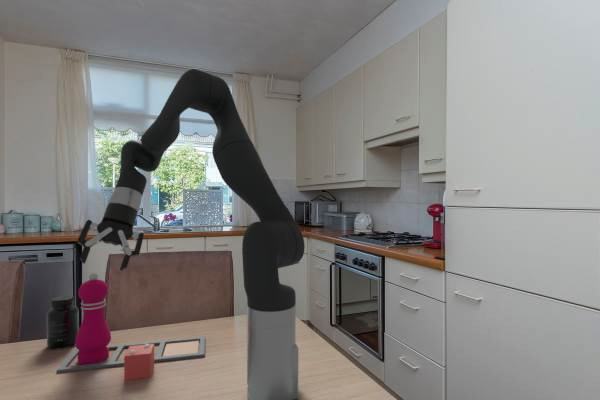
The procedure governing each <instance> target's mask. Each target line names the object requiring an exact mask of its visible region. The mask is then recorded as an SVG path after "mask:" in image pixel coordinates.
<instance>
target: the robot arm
mask: <svg viewBox="0 0 600 400" xmlns="http://www.w3.org/2000/svg"><path fill="white" fill-rule="evenodd" d="M187 109H192V110H194V111H198V112H202V113H205V114H207V115H209V116H210V117H211V118H212V120H213V122H214V124H215V126H216V129H217V131H216V135H215V137H214V141H213V144H212V157H213V161H214V163H215V165H216V168H217V170H218V172H219V175H220V177H221V178H222V180H223V182H224V183H225V184H226V186H227V187H228V188H229V189H230V190H231V191H232V192H233V193H234V194H236V195H237V196H238V198H240V199H241V200H242V201H243V202H245V203H246V204H247V205H248V206H249V207H250V208H251V209H252V210H253V211H254V214H256V216H257V217H258V219H259V221H255V222H252V223H251V224H249V225H248V226H247V227H246V229H245V231H244V234H243V237H242V246H241V248H242V249H241V250H242V251H241V255H242V274H243V287H244V291H245V295H246V298H247V299H246V300H247V305H246V306H247V308H246V309H247V317H246V320H247V321H246V322H247V323H246V324H247V325H246V326H247V328H246V329H247V330H246V331H247V333H246V334H247V335H246V336H247V337H246V341H247V342H246V343H247V347H246V350H247V351H246V352H247V353H246V356H247V357H246V360H247V361H246V364H247V365H246V372H247V373H246V375H247V377H246V379H247V381H246V389H247V391H246V392H247V399H248V400H298V399H299V347H298V345H297V343H296V337H297V335H296V325H297V324H296V322H297V321H296V314H297V313H296V311H297V310H296V308H297V307H296V303H297V302H296V301H297V300H296V298H297V297H296V296H297V295H296V291H295V289H294V287H292V286H290V285H287V284H283V283H281V282H280V278H279V275H280V274H279V269H281V268H286V267H290V266H293V265H297V264H298V263H299V262H301V260H302V259H303V257H304V254H305V240H304V239H305V238H304V236H303V233H302V231H301V230H302V229H301V228H300V226H299V225H298V223H297V222H296V220H295V218H294V217H293V215H292V213H291V212H290V210H289V209H288V207H287V206H286V205H285V203H284V201H283V199H282V198H281V196H280V195H279V193H278V192H277V189H276V187H275V186H274V184H273V181H272V180H271V178H270V175H269V174H268V172H267V170H266V168H265V166H264V164H263V161H262V159H261V157H260V155H259V153H258V151H257V149H256V147H255V145H254V144H253V141H252V139H251V138H250V135H249V134H248V132H247V130H246V127H245V125H244V123H243V120H242V119H241V117H240V114H239V112H238V109H237V106H236V103H235V100H234V98H233V94H232V92H231V89H230V87H229V85H228V83H227V82H226V81H225V80H224V79H223V78H221V76H218V75H215V74H213V73H210V72H209V71H208V72H207V71H205V70H203V69H200V68H197V67H196V68H195V67H190V68H188V69H187V70H185V71H184V72H183V73H182V74H181V75H180V77H179V78H178V80H177V82H176V83H175V84H174V87H173V89H172V91H171V92H170V94H169V96H168V98H167V99H166V101H165V103H164V105H163V107H162V109H161V111H160V112H159V115H158V116H157V118H155V120H154V122H153V123H152V124H151V125H150V126H149V127H148V128H147V129H146V131H144V132H143V134H142V135H141V137H140V141H138V140H136V139H131V140H128V141H126V142H125V143H124V144H123V146H122V147H121V151H120V152H121V153H120V171H119V175H118V180H117V182H116V184H115V187H114V190H113V192H112V194H111V195H110V197H109V199H108V200H109V201H108V203H107V207H106V208H105V211H104V215H103V216H102V220H101V221H100V222H99V223H96V222H92V220H90V219H87V220H86V221H85V224H84V226H83V228H82V229H81V232H80V234H79V236H78V239H77V244H78V245H80V246H82V247H83V249H82V251H81V254H80V257H79V258H80V259H79V260H80V261H81V264H83V265H85V264H86V262H87V259H88V257H89V254H90V251H91V248H92V247H93V246H96V245H98V244H99V243H101V242H103V243H104V244H107V245H108V244H109V245H113V246H116V247H117V246H120V247H121V249H122V250H123V253H124V256H123V258H122V261H121V265H120V267H119V272H123V271H124V270H126V269H127V268H128V264H129V263H130V258H133V257H138V256H139V254H141V248H142V245H143V241H144V236H145V234H144V233H143V232H134V231H133V230H134V229H133V228H134V225H135V222H136V219H137V216H138V213H139V211H140V207H141V204H142V198H143V194H144V192H145V189H146V185H147V183H148V181H147V178H146V176H145V175H144V174H142V172H140V171H139V170H141V171H143V172H147V173H151V172H154V171H156V170H158V168H159V166H160V163H161V160H162V157H163V155H164V153H165V152H166V151H167V150H168V148H170V147H171V146H172V145H173V144H174V142H175V141H176V140H177V139H178V137H179V135H180V129H181V125H180V124H181V121H180V119H181V118H180V117H181V115H182V113H184V112H185V111H187ZM137 169H139V170H137ZM94 229H96V230H97V232H98V234H96V235H95V236H93V238H91V239H89V240H86V238H87V237H88V234H89V232H92V231H94ZM131 238H133V241H134V242H136V243H135V246H134V250H131V248H130V245H129V242H128V240H130V239H131Z"/></svg>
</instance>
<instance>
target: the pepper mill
mask: <svg viewBox="0 0 600 400" xmlns="http://www.w3.org/2000/svg"><path fill="white" fill-rule="evenodd" d="M98 278H99V276H98V274H97V273H94V272H93V273H90V274H89V276H88V279H89V280H87V281H84V282H83V283H82V284H81V285H80V287H79V288H78V293H77V295H78V297H79V299H80V300H81V302H80V305H81V306H80V310H82V312H83V313H82V314H83V315H82V320H81V321H82V322H81V324H80V327H79V331H78V333H77V336H76V341H75V344H74V346H75V349H78V350H79V351H80V352H79V353H78V355H77V362H78V364H79V365H87V364H96V363H102V362H103V361H105V360H107V358H108V357H109V355H110V351H109V348H108V347H107V346H109V344H110V342H111V340H112V333H111V330H110V327H109V326H108V324H107V321H106V318H105V314H104V310H105V309H104V308H105V306H106V305H107V303H106V302H107V300H106V297H107V296H108V293H109V286H108V284H107V282H106V281H104V280H101V279H98Z"/></svg>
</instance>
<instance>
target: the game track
mask: <svg viewBox="0 0 600 400" xmlns="http://www.w3.org/2000/svg"><path fill="white" fill-rule="evenodd" d="M145 344H154V346H158V348H157V351H156V354H155V356H154V363H160V362H168V361H177V360H179V361H180V360H186V359H187V360H188V359H195V358H205V348H206V347H205V346H206V345H205V344H206V336H196V337H195V336H193V337H186V338H185V337H183V338H175V339H174V338H173V339H165V340H164V339H161V340H155V341H143V342H142V341H141V342H131V343H122V344H121V343H120V344H111V345H109V344H108V345H107V347H108V348H109V350H115V352H114V353H113V355H112V356H111V358H110V359H109V361H107V362H98V363H95V364H87V365H84V364H79V365H70V364H72V362H73V361H74V360H75V359H76V357H78V353H79V352H80V351H79V350H78V349H77V348H75V349H74V350H73V351H72V352H71V353H70V355H69V356H68V357H66V359H65V360H64V361H63V362H62V364H60V366H59V367H57V369H56V373H57V374H58V373H59V374H60V373H69V372H77V371H87V370H88V371H89V370H95V369H104V368H113V367H122V366H123V367H124V360H119V361H118V358H119V357H120V355H121V353H122V352H123V350H124V349H128V348H129V347H130V346H137V345H145Z"/></svg>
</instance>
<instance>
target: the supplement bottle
mask: <svg viewBox="0 0 600 400" xmlns="http://www.w3.org/2000/svg"><path fill="white" fill-rule="evenodd" d="M50 301H51V304H50V307H51V308H50V309H49V310H48V311H47V313H46V346H47V348H48V349H50V350H59V349H60V350H62V349H66V348H69V347H71V346H75V341H76V336H77V333H78V331H79V329H80V327H79V326H80V324H79V323H80V321H79V320H80V319H79V318H80V317H79V315H80V314H79V313H80V311H79V308H78V307H77V306H76V305H74V304H75V296H74V295H66V294H65V295H59V296H56V297H53V298H52V299H51V300H50Z"/></svg>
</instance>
